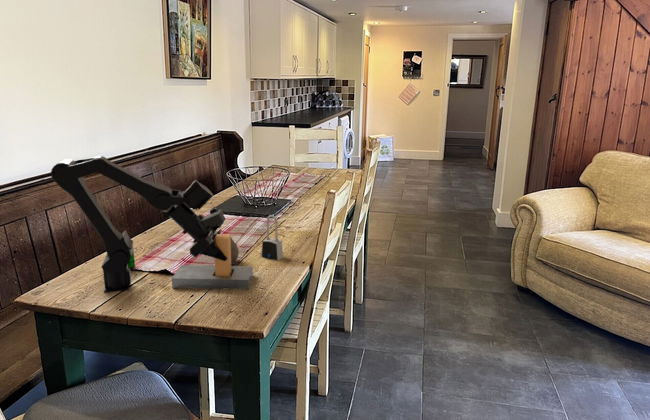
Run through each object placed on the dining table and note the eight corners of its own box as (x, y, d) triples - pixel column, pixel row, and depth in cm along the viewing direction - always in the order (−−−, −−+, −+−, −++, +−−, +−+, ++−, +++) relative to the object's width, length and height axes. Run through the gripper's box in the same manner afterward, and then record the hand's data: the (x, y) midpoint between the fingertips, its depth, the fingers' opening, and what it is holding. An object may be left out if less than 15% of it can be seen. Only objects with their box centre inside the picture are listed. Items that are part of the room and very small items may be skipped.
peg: (215, 280, 142) (214, 238, 138) (218, 274, 146) (217, 234, 142) (229, 280, 142) (228, 239, 138) (231, 274, 146) (230, 234, 142)
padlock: (283, 256, 165) (283, 215, 160) (277, 261, 161) (277, 218, 157) (267, 253, 167) (266, 212, 163) (260, 257, 164) (260, 215, 159)
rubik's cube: (135, 266, 153) (133, 249, 152) (119, 272, 149) (117, 255, 147) (124, 262, 156) (122, 245, 155) (108, 267, 152) (106, 250, 150)
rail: (172, 287, 139) (171, 278, 138) (181, 273, 149) (181, 264, 148) (248, 289, 139) (248, 279, 139) (252, 275, 149) (252, 266, 148)
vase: (218, 267, 155) (217, 241, 152) (216, 259, 161) (216, 234, 158) (239, 265, 156) (239, 240, 154) (237, 257, 163) (237, 233, 160)
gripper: (199, 211, 128) (241, 250, 131) (214, 194, 146) (251, 229, 149) (171, 238, 130) (213, 276, 133) (189, 218, 148) (226, 252, 151)
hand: (227, 257), depth 142 cm, fingers closed on peg, 4 cm apart
